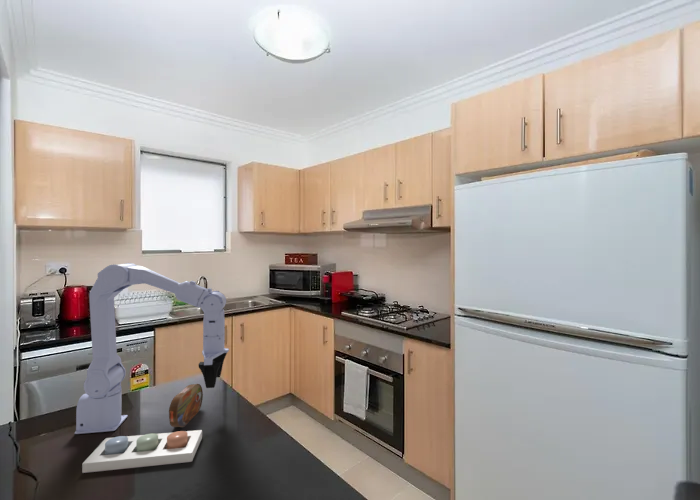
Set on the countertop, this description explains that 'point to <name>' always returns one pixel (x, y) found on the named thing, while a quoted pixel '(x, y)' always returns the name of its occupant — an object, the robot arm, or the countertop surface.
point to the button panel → (142, 454)
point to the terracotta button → (177, 440)
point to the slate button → (116, 445)
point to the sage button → (147, 442)
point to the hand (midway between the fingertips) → (213, 382)
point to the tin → (185, 405)
